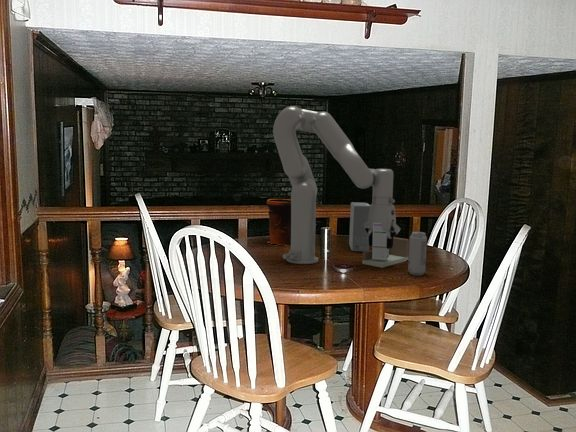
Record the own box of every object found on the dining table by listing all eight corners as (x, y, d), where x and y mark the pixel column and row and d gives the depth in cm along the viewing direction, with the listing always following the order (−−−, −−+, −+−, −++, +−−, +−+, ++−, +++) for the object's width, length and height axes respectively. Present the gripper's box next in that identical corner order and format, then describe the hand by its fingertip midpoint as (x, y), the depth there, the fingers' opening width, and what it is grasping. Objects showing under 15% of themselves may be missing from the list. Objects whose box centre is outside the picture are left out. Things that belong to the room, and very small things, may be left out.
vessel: (264, 239, 260) (266, 197, 258) (294, 240, 262) (296, 198, 259) (265, 245, 246) (267, 201, 244) (297, 246, 247) (299, 202, 245)
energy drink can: (411, 271, 203) (413, 230, 201) (427, 273, 200) (429, 232, 198) (405, 274, 198) (407, 232, 196) (421, 276, 195) (423, 234, 193)
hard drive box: (369, 252, 236) (371, 206, 234) (351, 251, 237) (353, 205, 234) (365, 245, 252) (367, 202, 249) (348, 245, 252) (350, 201, 249)
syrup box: (386, 260, 210) (388, 222, 208) (371, 259, 211) (372, 221, 209) (388, 257, 215) (390, 220, 213) (373, 256, 217) (374, 220, 215)
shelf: (382, 267, 208) (383, 245, 206) (362, 263, 214) (363, 242, 212) (408, 260, 221) (409, 239, 220) (388, 256, 227) (389, 236, 226)
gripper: (407, 202, 207) (405, 248, 209) (368, 198, 219) (367, 242, 221) (396, 203, 202) (394, 251, 204) (357, 200, 213) (356, 245, 216)
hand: (380, 246), depth 213 cm, fingers closed on syrup box, 7 cm apart
